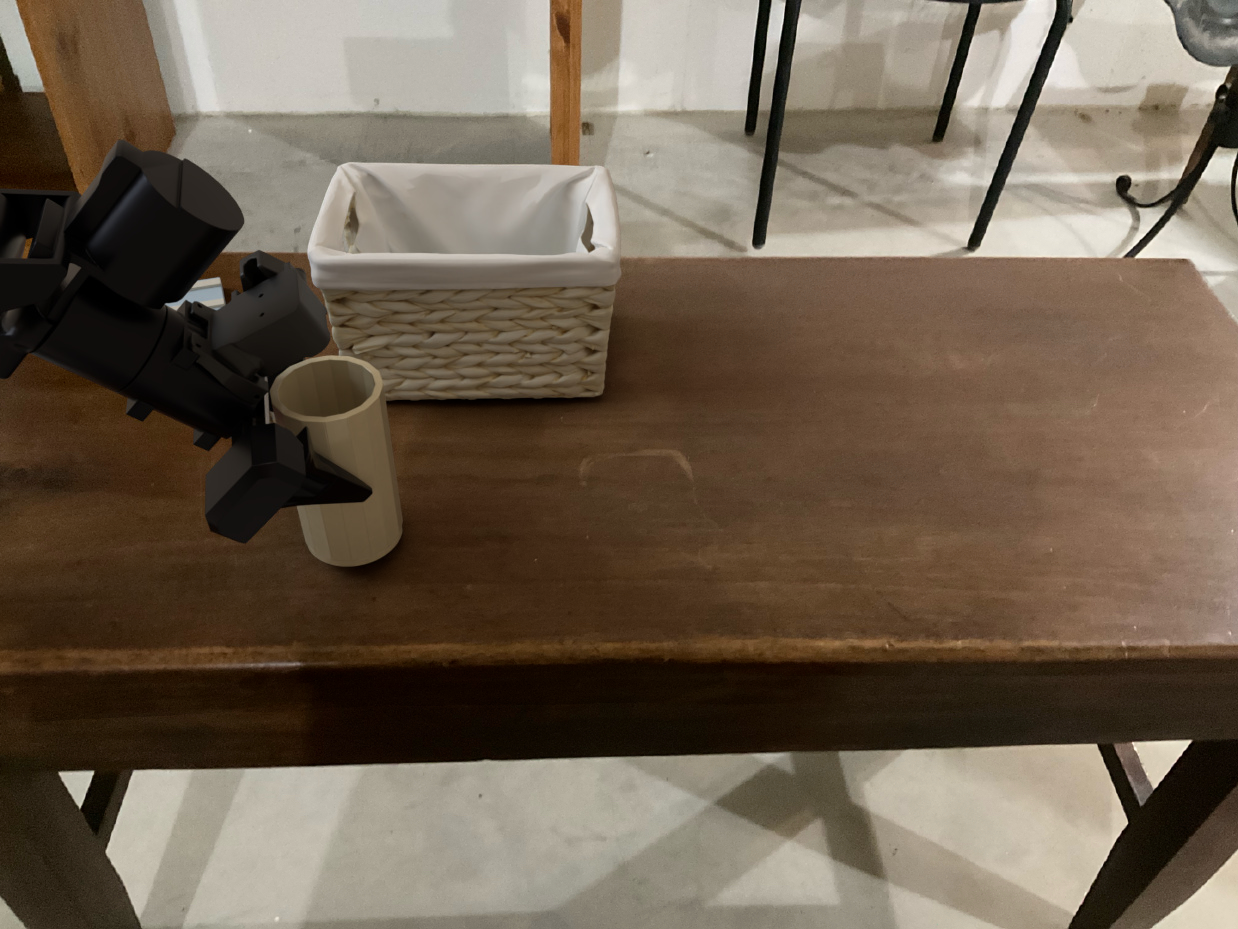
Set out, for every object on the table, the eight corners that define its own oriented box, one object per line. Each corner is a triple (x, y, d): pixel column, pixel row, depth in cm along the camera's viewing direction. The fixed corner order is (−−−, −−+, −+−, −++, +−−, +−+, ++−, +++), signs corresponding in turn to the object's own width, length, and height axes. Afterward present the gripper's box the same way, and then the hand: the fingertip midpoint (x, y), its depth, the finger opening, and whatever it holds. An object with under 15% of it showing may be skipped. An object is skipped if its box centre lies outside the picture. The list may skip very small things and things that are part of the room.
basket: (330, 411, 80) (298, 255, 69) (358, 301, 91) (334, 155, 81) (617, 410, 81) (626, 258, 71) (607, 304, 93) (614, 160, 83)
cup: (312, 576, 65) (276, 430, 56) (299, 510, 70) (264, 365, 61) (411, 553, 67) (392, 409, 59) (392, 490, 72) (371, 347, 63)
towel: (111, 341, 85) (105, 327, 84) (110, 305, 89) (105, 291, 88) (229, 321, 88) (225, 307, 87) (222, 287, 92) (219, 273, 91)
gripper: (222, 348, 45) (467, 478, 55) (222, 170, 58) (421, 302, 68) (94, 494, 49) (347, 591, 59) (121, 295, 62) (324, 403, 72)
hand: (363, 459), depth 64 cm, fingers closed on cup, 7 cm apart
